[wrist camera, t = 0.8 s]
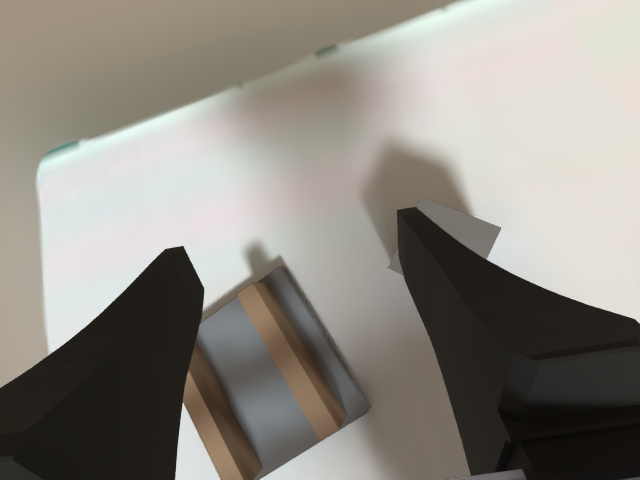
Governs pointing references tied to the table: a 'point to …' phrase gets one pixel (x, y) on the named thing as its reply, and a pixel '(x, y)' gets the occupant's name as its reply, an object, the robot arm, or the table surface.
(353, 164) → the table surface
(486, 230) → the steel block
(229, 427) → the slot seat
